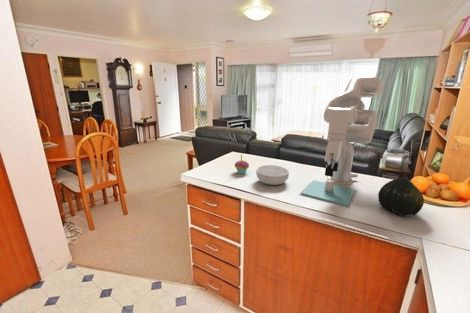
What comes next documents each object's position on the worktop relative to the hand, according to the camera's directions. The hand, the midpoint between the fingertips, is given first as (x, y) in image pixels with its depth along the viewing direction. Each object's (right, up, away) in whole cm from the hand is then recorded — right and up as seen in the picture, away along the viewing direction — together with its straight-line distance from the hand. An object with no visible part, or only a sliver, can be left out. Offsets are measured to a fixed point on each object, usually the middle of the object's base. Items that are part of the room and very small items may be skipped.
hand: (331, 173), depth 108 cm
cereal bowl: (-25, -6, +16) cm, 30 cm away
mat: (0, -10, +4) cm, 11 cm away
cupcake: (-41, -2, +30) cm, 51 cm away
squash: (+23, -15, -11) cm, 29 cm away
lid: (0, -9, +3) cm, 10 cm away
